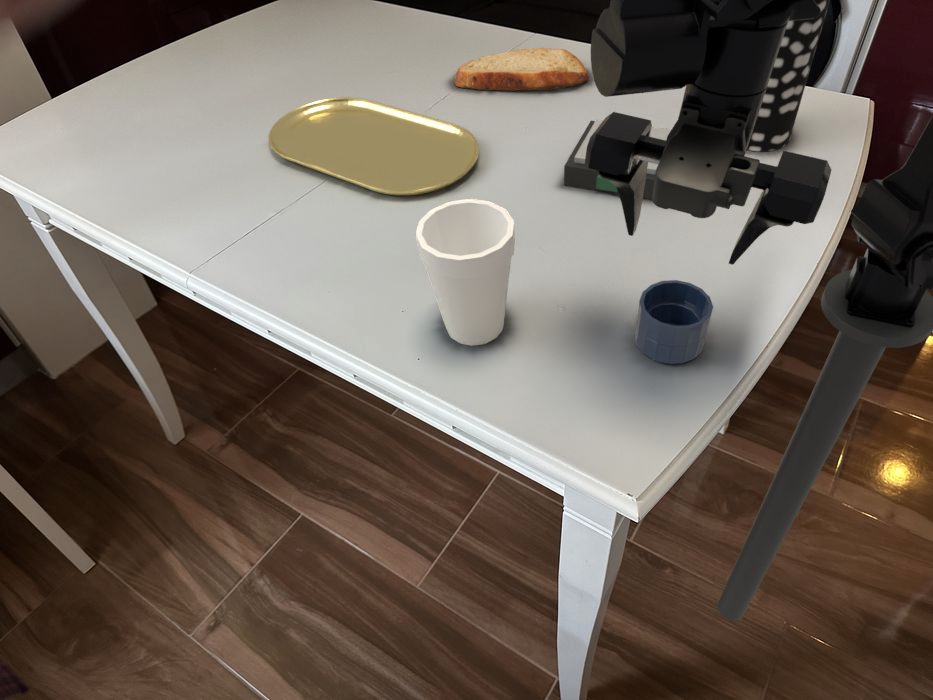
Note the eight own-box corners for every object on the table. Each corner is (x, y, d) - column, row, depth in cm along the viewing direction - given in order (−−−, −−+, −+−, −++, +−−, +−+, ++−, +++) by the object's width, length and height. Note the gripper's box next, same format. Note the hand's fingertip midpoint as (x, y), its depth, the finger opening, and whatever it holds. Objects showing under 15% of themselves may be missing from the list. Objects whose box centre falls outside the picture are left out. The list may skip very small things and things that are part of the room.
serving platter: (329, 96, 114) (326, 87, 113) (505, 147, 99) (504, 137, 97) (245, 150, 104) (242, 141, 103) (426, 216, 89) (425, 206, 88)
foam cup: (489, 368, 70) (480, 271, 60) (415, 338, 74) (396, 242, 64) (533, 310, 75) (531, 213, 66) (462, 285, 79) (451, 190, 69)
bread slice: (445, 81, 114) (443, 58, 112) (527, 46, 121) (527, 24, 118) (514, 119, 104) (513, 95, 101) (600, 78, 110) (601, 55, 108)
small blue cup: (708, 327, 71) (718, 288, 67) (695, 374, 67) (705, 335, 63) (643, 313, 73) (649, 274, 69) (627, 357, 69) (632, 318, 65)
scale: (689, 153, 94) (693, 128, 91) (669, 205, 86) (673, 179, 83) (589, 139, 98) (591, 115, 95) (562, 187, 91) (563, 162, 88)
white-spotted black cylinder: (722, 147, 94) (754, -8, 79) (730, 117, 99) (762, -33, 84) (787, 155, 91) (833, -3, 77) (792, 124, 96) (836, -30, 82)
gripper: (571, 97, 49) (552, 267, 60) (848, 159, 43) (769, 335, 54) (621, 41, 56) (595, 203, 67) (865, 89, 50) (792, 257, 61)
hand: (680, 247), depth 62 cm, fingers open, 9 cm apart
